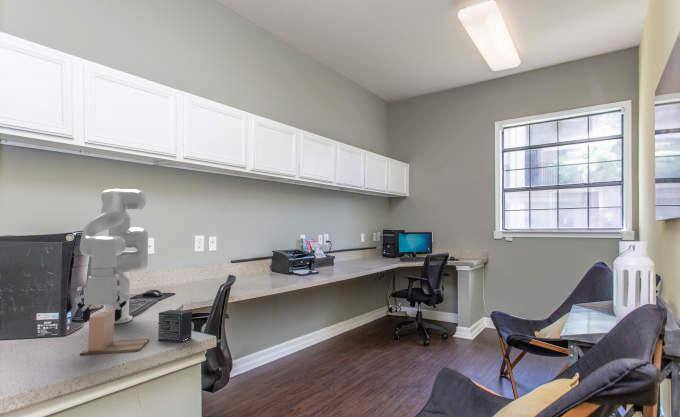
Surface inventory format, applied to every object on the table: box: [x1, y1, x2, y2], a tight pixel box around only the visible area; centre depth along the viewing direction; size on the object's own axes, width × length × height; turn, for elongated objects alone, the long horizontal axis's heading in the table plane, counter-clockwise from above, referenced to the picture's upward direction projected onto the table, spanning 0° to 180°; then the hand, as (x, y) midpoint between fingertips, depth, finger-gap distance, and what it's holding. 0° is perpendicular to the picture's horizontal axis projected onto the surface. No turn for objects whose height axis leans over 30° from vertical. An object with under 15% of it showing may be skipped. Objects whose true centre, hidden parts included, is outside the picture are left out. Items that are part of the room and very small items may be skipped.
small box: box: [157, 309, 193, 343], centre depth 139 cm, size 11×6×10 cm, turn 74°
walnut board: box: [79, 338, 150, 356], centre depth 129 cm, size 12×18×1 cm, turn 103°
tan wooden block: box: [87, 311, 115, 351], centre depth 128 cm, size 9×5×11 cm, turn 13°
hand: (102, 320), depth 129 cm, fingers open, 9 cm apart
